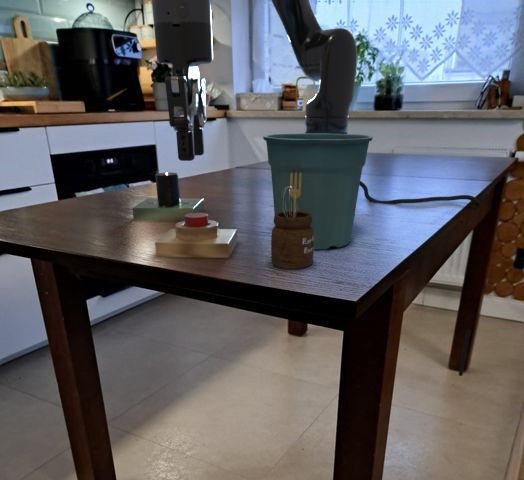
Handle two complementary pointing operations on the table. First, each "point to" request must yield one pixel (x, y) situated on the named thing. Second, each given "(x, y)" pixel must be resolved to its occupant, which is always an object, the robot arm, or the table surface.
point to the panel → (166, 210)
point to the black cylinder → (167, 188)
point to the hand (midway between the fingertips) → (191, 157)
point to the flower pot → (319, 179)
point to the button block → (197, 241)
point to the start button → (196, 220)
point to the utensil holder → (292, 235)
